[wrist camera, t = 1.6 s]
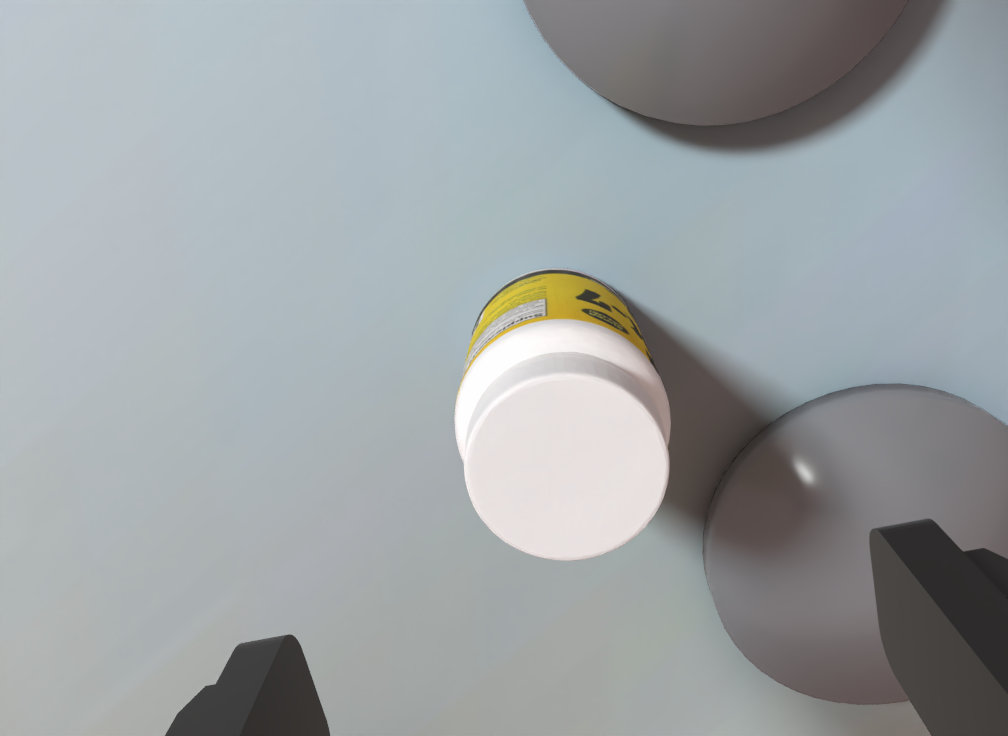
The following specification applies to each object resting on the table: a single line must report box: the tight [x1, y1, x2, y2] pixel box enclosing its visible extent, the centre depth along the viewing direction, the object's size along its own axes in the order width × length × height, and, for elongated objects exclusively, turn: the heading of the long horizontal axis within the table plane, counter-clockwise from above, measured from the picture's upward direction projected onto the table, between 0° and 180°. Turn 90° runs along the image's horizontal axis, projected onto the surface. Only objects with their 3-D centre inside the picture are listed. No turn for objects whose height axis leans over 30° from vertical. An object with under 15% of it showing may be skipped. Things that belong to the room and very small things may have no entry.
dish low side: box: [703, 384, 1008, 704], centre depth 26 cm, size 10×10×1 cm
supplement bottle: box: [455, 268, 671, 560], centre depth 21 cm, size 5×5×8 cm
